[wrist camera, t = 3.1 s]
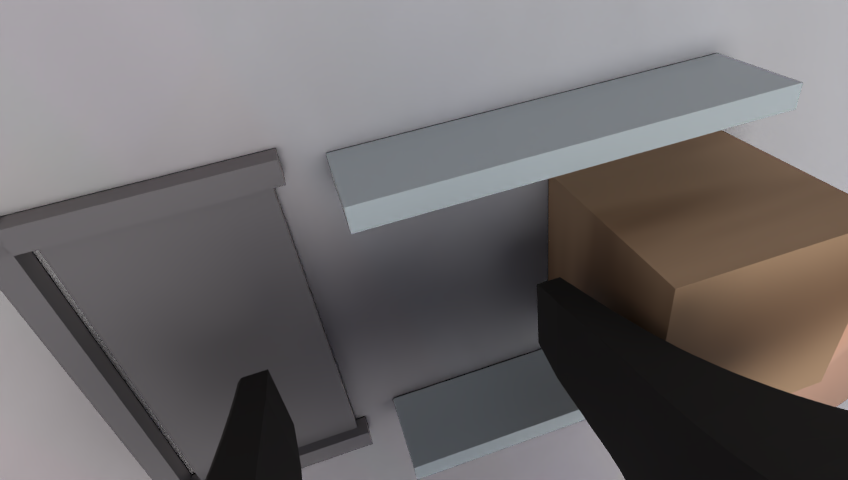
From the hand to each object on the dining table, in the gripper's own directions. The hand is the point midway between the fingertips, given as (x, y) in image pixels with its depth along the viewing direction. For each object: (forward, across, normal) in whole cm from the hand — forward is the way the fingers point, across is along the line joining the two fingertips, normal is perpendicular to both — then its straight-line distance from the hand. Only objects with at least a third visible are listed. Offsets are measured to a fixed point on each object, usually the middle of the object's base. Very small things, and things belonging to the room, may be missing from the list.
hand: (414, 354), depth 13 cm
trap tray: (+2, +5, 0) cm, 5 cm away
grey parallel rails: (+2, -4, 0) cm, 5 cm away
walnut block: (+2, -7, 0) cm, 7 cm away
